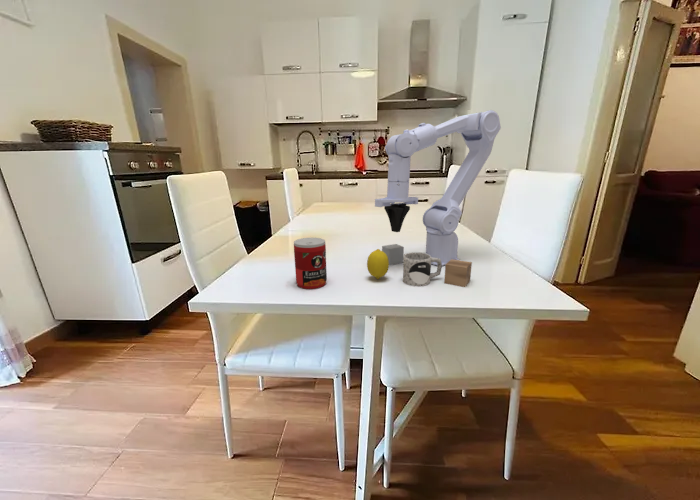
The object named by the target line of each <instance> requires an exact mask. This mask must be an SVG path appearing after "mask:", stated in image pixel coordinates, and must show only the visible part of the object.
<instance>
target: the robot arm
mask: <svg viewBox="0 0 700 500" xmlns="http://www.w3.org/2000/svg"><path fill="white" fill-rule="evenodd" d="M501 129H502V127H501V119H500V117H499V114H498V112H496V111H495V110H492V109H490V110H486V111H481V112H475V113H469V114H465V115H464V114H463V115H459V116H456V117H454V118H451V119H449V120H446V121H444V122H442V123H439V124H436V125H433V124H431V123H426V122H421V123H420V124H418V125H417V127H414V128H412V129H404V130H403V133H400V134H395V135H391V137H389V138H388V139H387V142H386V145H385V146H384V149H385V152H386V155H387V156H388V168H387V169H388V171H387V191H386V192H387V193H386V196H385V197H381V198H375V199H374V207H378V208H383V207H384V210H385V212H386V215H387V217H388V220H389V221H388V222H389V225H390V228H391V232H394V233H400V232H401V229H402V226H403V223H404V220H405V219H406V217H407V214H408V213H409V211H410V210H411V207H410V205H418V204H419V197H418V196H409V190H410V176H411V175H410V174H411V173H410V172H411V161H412V159H411V157H412V156H413V155H414V153H417V152H420V151H421V150H424V149H427V148H429V147H431V146H434V145H435V144H436V142H437V141H438V139H439V138H442V137H445V136H449V135H452V134H454V133H457V134H460V135H461V137H462V139H463V141H464V143H465V145H466V148H468V153H467V155H466V156H465V157H464V160H463V161H462V163H461V165H460V167H459V168H458V169H457V171H456V173H455V174H454V177H453V178H452V180H451V182H450V183H449V184H448V187H447V188H446V190H445V191H444V193H443V195H442V197H440V198H439V199H438V200H436V201H433V203H432V205H431V206H430V207H429V208H428V209H426V210H424V211H425V212H424V213H423V214H422V223H423V226H424V227H425V230H426V238H425V239H426V241H425V254H428V255H430V256H431V257H433V258H439V259H441V264H442V266H445V265H446V264H447V263H448V262H449V261H450V260H451V259H454V260H460V258H459V257H458V249H459V236H458V235H457V233H456V232H455V231H456V230H457V228H458V226H459V222H460V221H459V220H460V218H461V216H462V214H463V213H462V209H461V207H460V206H461V204H462V203H463V200H464V198H466V196H467V194H468V192H469V190H470V189H471V187H472V186H473V184H474V182H475V180H476V179H477V177H478V175H479V174H480V172H481V170H482V169H483V167H484V165H485V164H486V162H487V160H489V159H488V158H489V157H490V155H491V153H492V151H493V147H494V141H495V139H496V137H497V136H498V134H499V132H500V130H501ZM431 265H434V266H437V267H438V264H437V262H431Z"/></svg>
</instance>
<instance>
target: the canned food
mask: <svg viewBox="0 0 700 500" xmlns="http://www.w3.org/2000/svg"><path fill="white" fill-rule="evenodd" d="M326 246H327V245H326V240H325V239H323V238H322V237H321V238H320V237H303V238H302V237H301V238H298V239H295V240H294V241H293V254H294V269H295V270H294V271H295V282H296V285H297V286H298V287H299V288H301V289H304V290H305V289H306V290H316V289H320V288H322V287H324V286H326V284H327V280H328V279H327V275H328V274H327V247H326Z"/></svg>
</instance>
